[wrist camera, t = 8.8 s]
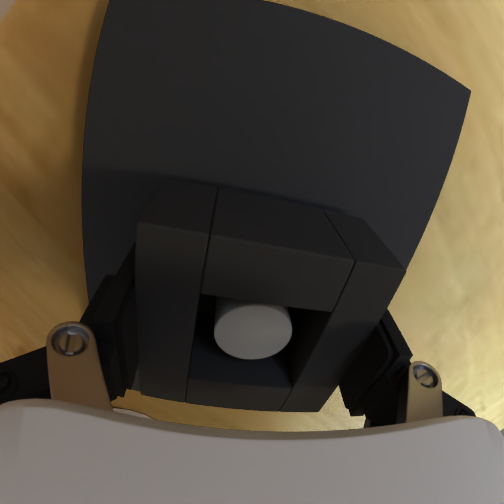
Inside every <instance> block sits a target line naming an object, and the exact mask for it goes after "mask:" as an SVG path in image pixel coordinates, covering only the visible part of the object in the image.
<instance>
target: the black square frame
mask: <svg viewBox="0 0 504 504" xmlns="http://www.w3.org/2000/svg"><path fill="white" fill-rule="evenodd" d="M405 273H406V269H405V268H404V267H403V266H402V264H401V263H400V262H399V261H398V259H397V258H396V257H395V256H394V254H393V253H392V252H391V251H390V250H389V248H388V247H387V246H386V245H385V243H384V242H383V241H382V240H381V239H380V238H379V236H378V235H377V234H376V233H375V232H374V230H373V229H372V228H371V227H370V226H369V225H368V224H367V222H366V221H365V220H364V219H362V218H358V217H354V216H350V215H346V214H342V213H338V212H334V211H329V210H325V209H320V208H315V207H311V206H307V205H302V204H298V203H293V202H288V201H284V200H279V199H274V198H269V197H264V196H259V195H254V194H249V193H244V192H239V191H234V190H228V189H223V188H218V189H217V188H216V187H212V186H207V185H201V184H195V183H189V182H183V181H177V180H171V179H168V180H167V181H166V183H165V184H164V185H163V187H162V188H161V189H160V191H159V192H158V193H157V195H156V196H155V197H154V199H153V200H152V202H151V203H150V204H149V206H148V207H147V209H146V210H145V212H144V213H143V214H142V216H141V217H140V219H139V220H138V222H137V225H136V248H135V292H136V320H137V344H138V360H139V363H138V372H139V383H140V393H141V395H145V396H150V397H155V398H161V399H166V400H172V401H178V402H186V403H190V404H197V405H205V406H213V407H222V408H232V409H244V410H258V411H280V412H319V411H320V409H321V408H322V407H323V405H324V404H325V403H326V401H327V400H328V399H329V397H330V396H331V394H332V393H333V392H334V390H335V389H336V387H337V386H338V385H339V383H340V381H341V380H342V378H343V377H344V375H345V374H346V372H347V371H348V369H349V368H350V366H351V365H352V363H353V362H354V360H355V359H356V357H357V356H358V354H359V353H360V351H361V350H362V348H363V346H364V345H365V343H366V342H367V340H368V338H369V337H370V335H371V334H372V332H373V330H374V329H375V327H376V325H377V324H378V323H379V321H380V319H381V318H382V316H383V314H384V312H385V311H386V309H387V307H388V305H389V304H390V302H391V300H392V298H393V296H394V294H395V293H396V291H397V289H398V287H399V285H400V283H401V281H402V279H403V277H404V275H405ZM200 292H201V293H202V294H205V295H212V296H218V297H224V298H231V299H237V300H244V301H251V302H257V303H264V304H272V305H279V306H287V307H288V311H289V315H290V320H291V325H292V335H291V338H290V340H289V342H288V343H287V345H286V346H285V347H284V348H283V349H282V350H280V351H279V352H277V353H276V354H274V355H271V356H269V357H266V358H261V359H241V358H237V357H234V356H232V355H230V354H228V353H226V352H225V351H223V350H222V349H221V348H220V347H219V346H218V344H217V342H216V340H215V337H214V323H215V314H212V313H206V312H200V311H197V307H198V301H199V294H200Z"/></svg>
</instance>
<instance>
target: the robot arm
mask: <svg viewBox="0 0 504 504" xmlns="http://www.w3.org/2000/svg"><path fill="white" fill-rule="evenodd" d="M135 248H136V242H134V244H133V246H132V247H131V249H130V251H129V252H128V254H127V256H126V258H125V259H124V261H123V263H122V265H121V266H120V268H119V270H118V272H117V274H116V275H112V274H106V275H105V277H104V278H103V280H102V282H101V283H100V285H99V287H98V289H97V290H96V292H95V294H94V296H93V298H92V299H91V301H90V303H89V305H88V307H87V308H86V310H85V312H84V314H83V316H82V318H81V320H80V321H79V322H64V323H61V324H59V325H57V326H55V327H54V328H53V329H52V330H51V331H50V332H49V334H48V336H47V341H46V346H45V347H43V348H40V349H37V350H34V351H32V352H29V353H26V354H24V355H21V356H18V357H15V358H13V359H10V360H7V361H4V362H2V363H0V504H504V438H503V436H502V434H501V433H500V431H499V429H498V428H497V427H496V426H495V425H494V424H493V423H492V422H490V421H488V420H485V419H483V418H478V417H476V415H475V413H474V412H473V411H472V410H471V409H470V408H468V407H467V406H465V405H464V404H462V403H461V402H459V401H458V400H456V399H455V398H453V397H451V396H450V395H448V394H447V393H445V392H444V391H442V383H441V378H440V375H439V374H438V372H437V371H436V370H435V368H433V367H432V366H431V365H430V364H428V363H426V362H423V361H415V362H413V363H412V364H411V362H410V358H411V357H412V356H413V354H412V352H411V351H410V349H409V347H408V345H407V343H406V341H405V339H404V338H403V336H402V334H401V332H400V330H399V328H398V327H397V325H396V323H395V321H394V320H393V318H392V316H391V314H390V312H389V311H388V309H386V311H385V312H384V314H383V316H382V318H381V319H380V321H379V323H378V324H377V325H376V327H375V329H374V330H373V332H372V334H371V335H370V337H369V338H368V340H367V342H366V343H365V345H364V346H363V348H362V350H361V351H360V353H359V354H358V356H357V357H356V359H355V360H354V362H353V363H352V365H351V366H350V368H349V369H348V371H347V372H346V374H345V375H344V377H343V378H342V380H341V381H340V383H339V387H340V391H341V394H342V398H343V402H344V405H345V407H346V408H347V409H349V412H350V416H363V415H364V414H365V416H366V419H365V423H364V428H361V429H349V430H334V431H310V432H271V431H248V430H232V429H220V428H210V427H201V426H193V425H186V424H179V423H173V422H167V421H161V420H155V419H149V418H143V417H138V416H133V415H128V414H124V413H119V412H115V411H113V408H112V405H111V401H113V400H115V399H117V396H120V397H124V395H125V391H126V389H129V390H131V389H132V386H133V382H134V378H135V374H136V371H137V367H138V363H139V360H138V344H137V320H136V292H135Z"/></svg>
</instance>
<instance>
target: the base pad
mask: <svg viewBox="0 0 504 504" xmlns="http://www.w3.org/2000/svg"><path fill="white" fill-rule="evenodd" d="M470 94H471V90H469V89H468V88H466V87H465V86H464V85H462V84H461V83H459V82H458V81H456V80H455V79H453V78H451V77H450V76H448V75H447V74H445V73H444V72H442V71H440V70H439V69H437V68H435V67H434V66H432V65H430V64H429V63H427V62H425V61H423V60H422V59H420V58H418V57H416V56H414V55H412V54H410V53H409V52H407V51H405V50H403V49H401V48H399V47H397V46H395V45H393V44H391V43H388V42H386V41H384V40H382V39H380V38H378V37H375V36H373V35H371V34H368V33H366V32H364V31H361V30H359V29H356V28H354V27H351V26H349V25H346V24H343V23H341V22H338V21H335V20H332V19H329V18H326V17H323V16H320V15H317V14H314V13H311V12H307V11H304V10H301V9H297V8H293V7H290V6H286V5H282V4H278V3H273V2H269V1H264V0H110V1H109V4H108V7H107V11H106V14H105V18H104V22H103V25H102V29H101V33H100V38H99V42H98V46H97V51H96V56H95V61H94V66H93V72H92V77H91V84H90V90H89V97H88V105H87V113H86V122H85V133H84V146H83V163H82V230H83V248H84V262H85V272H86V282H87V291H88V299H89V303H90V301H91V299H92V298H93V296H94V294H95V292H96V290H97V289H98V287H99V285H100V283H101V282H102V280H103V278H104V277H105V275H106V274H112V275H116V274H117V272H118V270H119V268H120V266H121V265H122V263H123V261H124V259H125V258H126V256H127V254H128V252H129V251H130V249H131V247H132V246H133V244H134V242H136V225H137V222H138V220H139V219H140V217H141V216H142V214H143V213H144V212H145V210H146V209H147V207H148V206H149V204H150V203H151V202H152V200H153V199H154V197H155V196H156V195H157V193H158V192H159V191H160V189H161V188H162V187H163V185H164V184H165V183H166V181H167V180H168V179H171V180H177V181H183V182H189V183H195V184H201V185H207V186H212V187H216V188H217V189H218V188H223V189H228V190H234V191H239V192H244V193H249V194H254V195H259V196H264V197H269V198H274V199H279V200H284V201H288V202H293V203H298V204H302V205H307V206H311V207H315V208H320V209H325V210H329V211H334V212H338V213H342V214H346V215H350V216H354V217H358V218H362V219H364V220H365V221H366V222H367V224H368V225H369V226H370V227H371V228H372V229H373V230H374V232H375V233H376V234H377V235H378V236H379V238H380V239H381V240H382V241H383V242H384V243H385V245H386V246H387V247H388V248H389V250H390V251H391V252H392V253H393V254H394V256H395V257H396V258H397V259H398V261H399V262H400V263H401V264H402V266H403V267H404V268H405V269H407V267H408V265H409V263H410V261H411V259H412V257H413V255H414V253H415V250H416V248H417V246H418V244H419V242H420V240H421V237H422V235H423V233H424V231H425V228H426V226H427V224H428V222H429V219H430V217H431V214H432V212H433V210H434V207H435V205H436V202H437V200H438V197H439V194H440V192H441V189H442V187H443V184H444V181H445V178H446V176H447V173H448V170H449V167H450V164H451V161H452V158H453V155H454V152H455V149H456V146H457V142H458V139H459V136H460V132H461V129H462V125H463V122H464V118H465V114H466V110H467V106H468V102H469V98H470ZM197 311H200V312H206V313H212V314H215V323H214V337H215V340H216V342H217V344H218V346H219V347H220V348H221V349H222V350H223V351H225V352H226V353H228V354H230V355H232V356H234V357H237V358H241V359H261V358H266V357H269V356H271V355H274V354H276V353H277V352H279V351H280V350H282V349H283V348H284V347H285V346H286V345H287V343H288V342H289V340H290V338H291V335H292V325H291V320H290V315H289V311H288V307H287V306H279V305H272V304H264V303H257V302H251V301H244V300H237V299H231V298H224V297H218V296H212V295H205V294H202V293H201V292H200V294H199V301H198V307H197ZM132 390H137V391H140V383H139V372H138V367H137V371H136V374H135V378H134V382H133V386H132Z"/></svg>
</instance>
